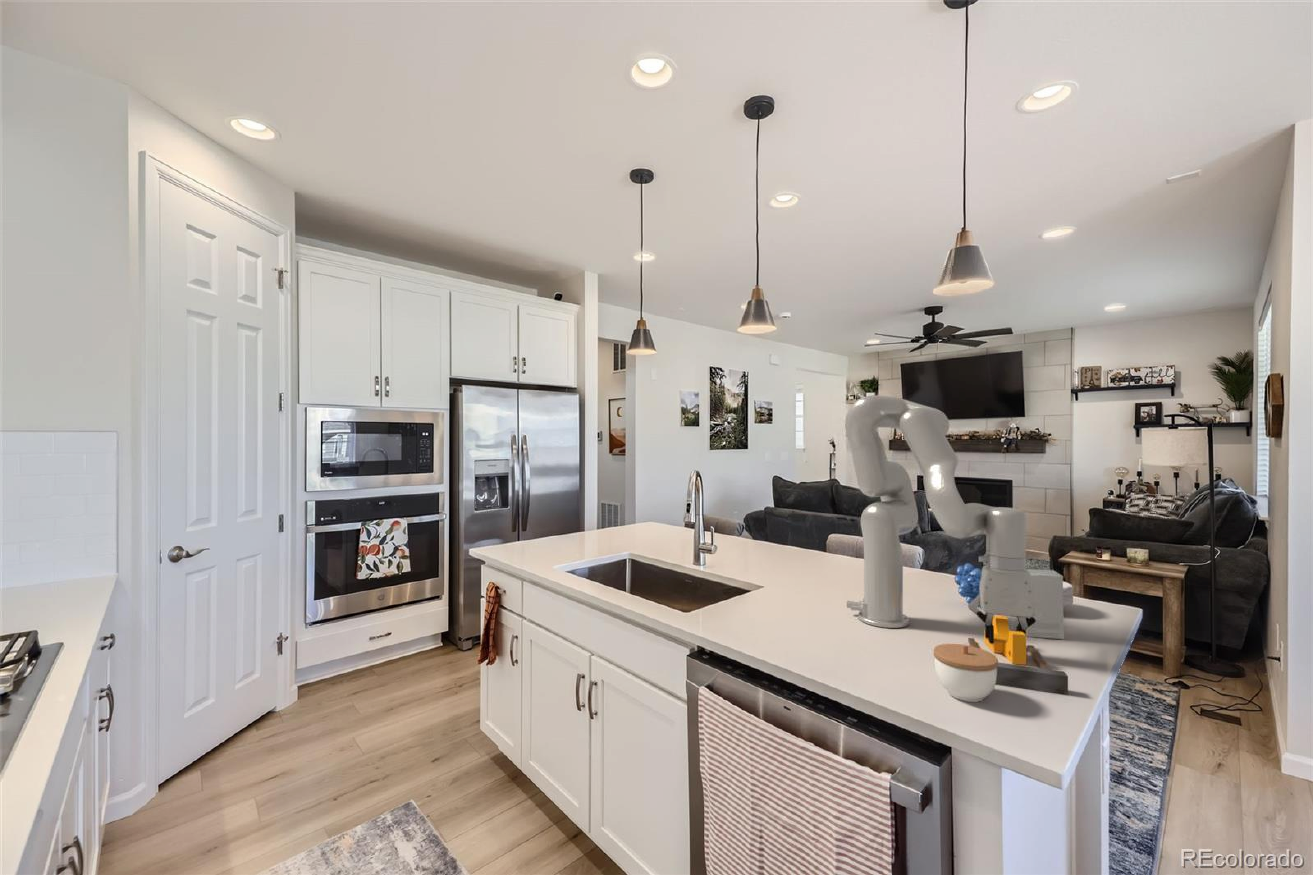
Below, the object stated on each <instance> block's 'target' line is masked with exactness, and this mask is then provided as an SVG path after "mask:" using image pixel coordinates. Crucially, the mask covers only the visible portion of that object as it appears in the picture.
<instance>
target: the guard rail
mask: <svg viewBox="0 0 1313 875" xmlns="http://www.w3.org/2000/svg"><path fill="white" fill-rule="evenodd" d="M967 639H968V640H967V642H968V644H969V646H973V647H976V648H979V646H978V644H977V642H976V641H975V638H973V637H967ZM1026 650H1028V652H1029V653H1030V655H1031V657H1032V658H1033V660H1034V661H1035V663H1036V664H1037V666H1038V667H1034V666H1027V665H1020V664H1012V663H1005V662H998V667H997V679H996V683H995V685H999V686H1006V687H1013V688H1018V689H1019V688H1021V689H1026V690H1034V691H1041V692H1046V693H1054V694H1060V695H1065V696H1067V695H1069V675H1068V674H1067V673H1066V671H1062V670H1056V669H1050V667H1049V666H1048V665H1047V663H1046V661H1044V659H1043V657H1042V656H1041V654H1040V653H1039V651H1038V650H1037V649H1036V647H1035V646H1034V645H1032V644H1031V645H1030V644H1028V645H1027V644H1026Z"/></svg>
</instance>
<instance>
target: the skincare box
mask: <svg viewBox="0 0 1313 875" xmlns="http://www.w3.org/2000/svg"><path fill="white" fill-rule="evenodd" d="M1026 570H1028V571H1029V572H1030V574H1031V579H1032V586H1033V598H1034V603H1035V604H1036V606H1037V607H1038V608H1039V609H1040V610H1041V611H1042V613H1043V614H1044V615H1045V616H1044V618H1042V619H1040V620H1038V621H1036V622H1035V623H1034V624H1032V625H1031V626H1030V627H1028V629H1027V630H1026V638H1027V637H1031V638H1040V639H1041V638H1043V639H1044V638H1045V639H1054V640H1055V639H1056V640H1064V639H1065V628H1064V621H1065V620H1064V609H1063V581H1064V576H1063V575H1062V574H1060V573H1059V572H1057V571H1055V570H1054V569H1037V568H1035V569H1033V568H1032V569H1031V568H1026Z"/></svg>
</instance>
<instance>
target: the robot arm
mask: <svg viewBox="0 0 1313 875" xmlns="http://www.w3.org/2000/svg"><path fill="white" fill-rule="evenodd" d="M844 425H845V426H844V427H845V433H846V436H847V440H848V443H849V448H850V451H851V458H852V462H853V466H854V471H855V475H856V482H857V484H858V488H859V491H860V492H861V493H862V494H863V495H865V496H868V497H870V498H874V497H875V498H879V497H880V501H876V502H873V503H870V504H869V505H868V506H866V507H865V508H864V510H863V511H862V513H861V516H860V527H861V528H860V529H861V534H862V540H863V563H864V564H863V566H864V567H863V568H864V569H863V572H864V573H863V577H864V579H863V580H864V581H863V582H864V583H863V584H864V585H863V589H864V590H863V592H864V593H863V594H864V595H863V596H864V598H863V599H862V600H859V601H854V600H853V601H852V600H846V608H847V609H850V610H851V611H858V613H857V616H858V617H857V618H858V619H859V620H860V621H861V622H862V623H865V624H868V625H870V626H874V627H878V628H888V629H892V628H893V629H897V628H898V629H900V628H904V627H907V626H908V625H909V624H910V618H909V617H908V616H907V615H906V614H904V609H903V607H904V606H903V603H904V599H903V598H904V592H903V590H904V586H903V585H904V584H903V583H904V580H903V579H904V573H903V572H904V564H903V562H904V561H903V560H904V558H903V556H904V555H903V548H902V545H901V542H900V537H899V536H902V535H905V534H909V533H910V532H912V531H913V530H914V529H915V528H916V527H917V525H918V522H919V514H918V506H917V503H916V498H915V493H914V491H913V490H914V489H913V486H912V485H913V484H912V481H911V478H910V475H909V473H908V471H907V469H906V468H905V467H904V466H903V465H902V464H900V463H898V462H896V461H892V460H888V458H887V455H886V454H887V453H886V451H885V444H884V443H883V440H882V438H881V436H880V435H879V433H878V431H877V430H878V428H892V429H896V430H897V431H898V430H899V431H901V434H902V436H903V437H904V440H905V441H906V444H907V445H908V447H909V449H910V451H911V453H912V455H913V457H914V459H915V460H916V463H917V464H918V466H919V468H920V470H921V472H922V475H923V487H924V493H925V497H926V501H927V503H928V506H929V508H930V510H931V511H932V514H933V515H934V518H935V519H936V521H937V523H938V524H939V526H940V527H941V529H942V530H943V531H944V533H946V534H947V535H948V536H950V537H952V538H956V539H967V538H971V537H974V536H982V535H985V536H986V538H985V542H986V544H985V546H986V548H985V550H986V551H985V554H984V555H979V556H978V562H979V563H983V564H985V565H983V566H982V568H981V571H982V573H981V578H980V587H979V595H978V596H977V597H976V598H975V599H974V600H973V601H972V602H971V603H970V604H968V605H967V608H968V609H969V611H971V612H972V613H973V614H974V615H976V616H977V617H978V618H979V619H980V620H981V621H982V622H983V623H984V628H985V638H988V640H989V643H990V644H993V643H994V626H993V617H994V615H995V616H1005V617H1014V618H1017V622H1018V624H1017V625H1016V626H1015V627H1016V629H1015V631H1018V632H1023V633H1024V634H1025V635H1026V630H1027V629H1028V627H1030V626H1031V625H1032V624H1034V623H1035V622H1036V621H1038V620H1040V619H1042V618H1044V616H1045V615H1044V614H1043V613H1042V611H1041V610H1040V609H1039V608H1038V607H1037V606H1036V604H1035V603H1034V598H1033V586H1032V579H1031V574H1030V572H1029V571H1028V570H1026V569H1027V568H1026V566H1027V565H1026V564H1027V563H1026V555H1027V554H1026V553H1027V552H1026V547H1027V546H1026V544H1027V541H1026V540H1027V539H1026V537H1027V535H1026V534H1027V533H1026V532H1027V517H1026V513H1025V512H1024V511H1023V510H1022V509H1019V508H1014V507H1005V506H1004V507H1003V506H998V507H997V506H990V505H987V504H983V503H977V502H969V503H965V502H964V500H963V499H962V497H961V495H960V492H959V491H958V488H957V486H956V482H955V472H956V468H957V466H958V463H959V458H958V456H957V454H956V452H955V451H954V449H953V447H952V445H951V443H949V441H948V438H947V437H946V435H947V433H948V432H949V430H950V422H949V418H948V416H947V415H946V414H945V413H944V412H943V411H941V410H939V409H938V408H935V407H931V406H928V405H924V404H920V403H917V402H915V401H910V400H908V399H903V398H900V397H895V396H888V395H887V396H885V395H867V396H863V397H862V398H859V399H858V400H856V401H855V402H854V403H853V404H852V405H851V406H850V408H849V409H848V411H847V414H846V417H845V423H844ZM978 605H980V606H981V610H980V609H979V607H978Z"/></svg>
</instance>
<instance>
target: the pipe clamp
mask: <svg viewBox="0 0 1313 875" xmlns="http://www.w3.org/2000/svg"><path fill="white" fill-rule="evenodd" d="M992 625H993V626H994V643H993V644H990V643H989V640H988V638H985V627H984V632H983V633H984V634H983V635H984V636H983V637H984V638H983V639H984V643H985V645H987V647H988V648H989V649H990V650H991V651H992V652H993V653H994V654H1003V655H1004V657H1006V659H1007V660H1008V661H1009V662H1010V664H1013V665H1020V666H1027V636H1026V635H1025V634H1024V633H1023V632H1018V631H1016V630H1015V631H1013V630H1010V626H1009V618H1007V616H1003V615H994V617H993V620H992Z"/></svg>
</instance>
